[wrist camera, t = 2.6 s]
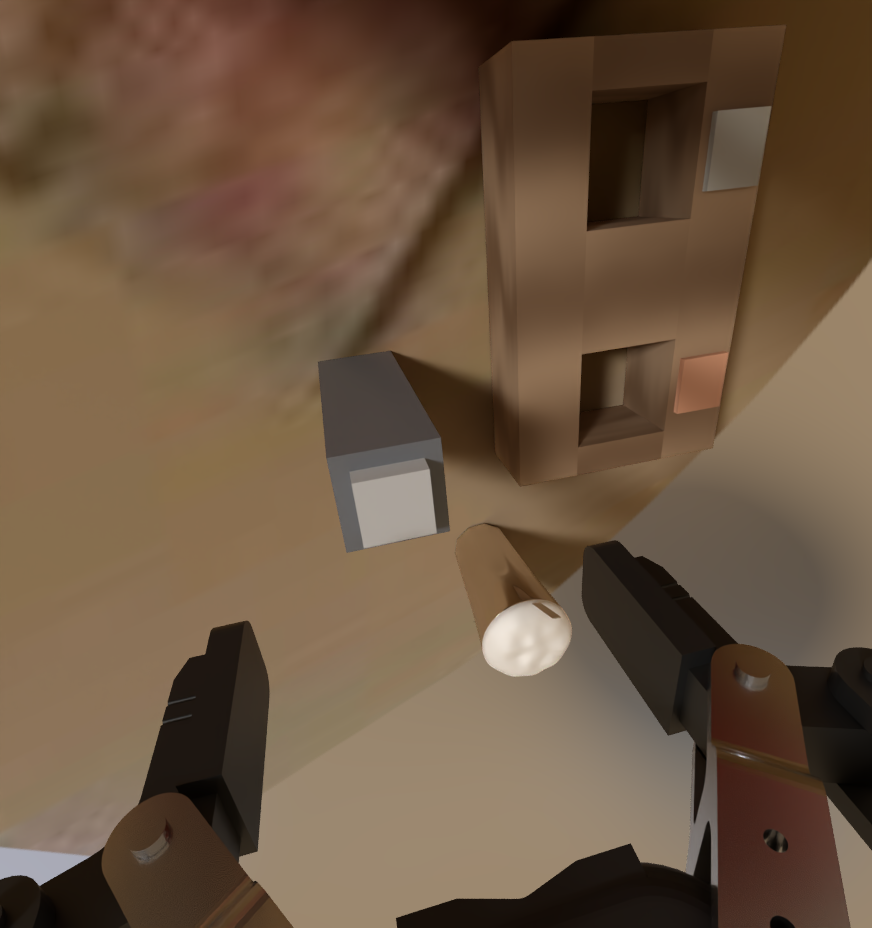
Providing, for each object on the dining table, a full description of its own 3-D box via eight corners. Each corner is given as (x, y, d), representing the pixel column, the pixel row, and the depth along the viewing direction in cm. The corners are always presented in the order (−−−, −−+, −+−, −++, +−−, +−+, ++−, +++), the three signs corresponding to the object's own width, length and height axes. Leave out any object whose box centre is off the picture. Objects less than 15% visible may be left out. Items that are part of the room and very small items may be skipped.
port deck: (478, 67, 22) (514, 38, 18) (714, 50, 23) (792, 22, 20) (495, 453, 30) (522, 489, 26) (667, 421, 32) (716, 450, 28)
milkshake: (522, 502, 32) (604, 614, 23) (507, 572, 34) (576, 699, 25) (451, 502, 31) (508, 621, 22) (440, 575, 33) (488, 709, 24)
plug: (318, 361, 26) (327, 470, 15) (390, 350, 26) (446, 447, 16) (331, 429, 27) (348, 567, 17) (399, 417, 28) (455, 544, 17)
